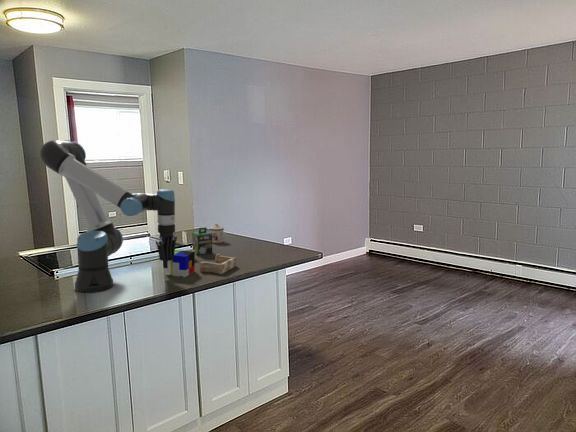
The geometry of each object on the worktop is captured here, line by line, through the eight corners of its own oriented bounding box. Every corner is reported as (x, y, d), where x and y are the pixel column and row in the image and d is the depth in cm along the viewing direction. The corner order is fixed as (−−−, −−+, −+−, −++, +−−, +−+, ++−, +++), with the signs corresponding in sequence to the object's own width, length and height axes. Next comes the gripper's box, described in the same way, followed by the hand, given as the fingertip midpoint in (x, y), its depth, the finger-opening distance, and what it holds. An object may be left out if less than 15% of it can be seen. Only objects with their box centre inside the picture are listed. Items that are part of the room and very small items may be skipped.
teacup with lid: (206, 241, 274) (206, 224, 272) (215, 239, 282) (215, 222, 280) (221, 244, 268) (221, 226, 267) (230, 242, 276) (230, 224, 274)
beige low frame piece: (220, 274, 208) (220, 264, 207) (173, 267, 217) (172, 257, 216) (237, 265, 224) (237, 256, 224) (192, 259, 234) (192, 250, 233)
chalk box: (206, 249, 255) (206, 225, 252) (213, 253, 247) (213, 228, 245) (191, 251, 250) (191, 226, 247) (197, 255, 242) (197, 229, 240)
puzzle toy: (185, 277, 203) (185, 256, 201) (166, 275, 205) (165, 254, 203) (194, 271, 212) (194, 251, 211) (175, 269, 214) (175, 249, 213)
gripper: (164, 227, 187) (165, 279, 191) (181, 222, 199) (182, 271, 203) (150, 225, 190) (151, 276, 193) (168, 220, 202) (169, 269, 205)
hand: (167, 274), depth 198 cm, fingers closed
